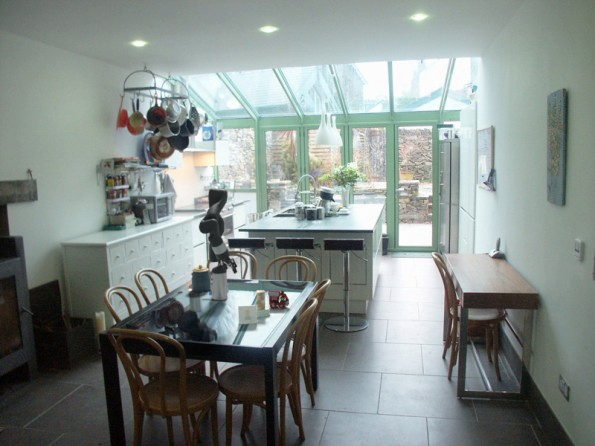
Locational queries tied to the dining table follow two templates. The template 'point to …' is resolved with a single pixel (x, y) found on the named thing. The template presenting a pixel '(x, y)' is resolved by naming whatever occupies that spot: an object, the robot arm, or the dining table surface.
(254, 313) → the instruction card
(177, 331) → the dining table surface
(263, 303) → the column
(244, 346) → the dining table surface
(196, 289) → the canister
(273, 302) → the toy fire truck
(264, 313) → the base brick
